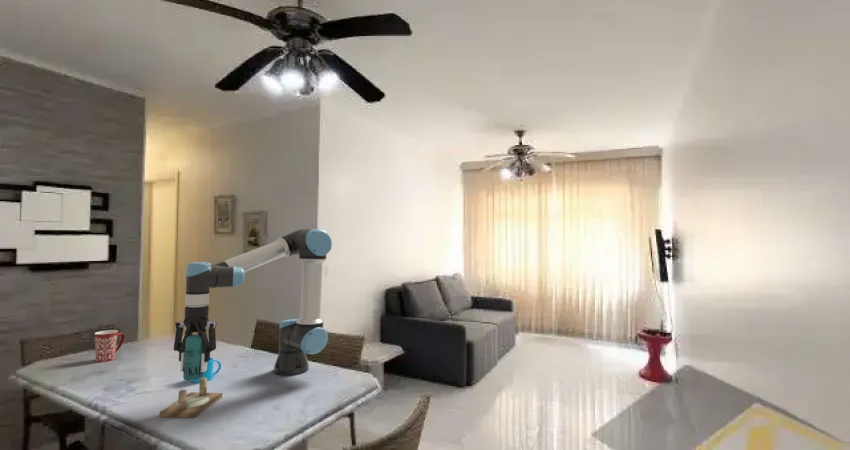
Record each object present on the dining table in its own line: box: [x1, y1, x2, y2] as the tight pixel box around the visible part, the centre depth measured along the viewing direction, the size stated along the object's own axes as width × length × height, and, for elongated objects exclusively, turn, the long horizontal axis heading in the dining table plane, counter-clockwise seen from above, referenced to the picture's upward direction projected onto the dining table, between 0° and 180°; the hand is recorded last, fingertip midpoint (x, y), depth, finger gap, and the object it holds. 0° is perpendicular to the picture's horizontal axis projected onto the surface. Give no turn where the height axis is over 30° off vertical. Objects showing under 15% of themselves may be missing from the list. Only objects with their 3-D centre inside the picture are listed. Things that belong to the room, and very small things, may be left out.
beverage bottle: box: [182, 326, 204, 381], centre depth 146 cm, size 6×7×20 cm
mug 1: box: [94, 329, 126, 363], centre depth 200 cm, size 13×9×14 cm
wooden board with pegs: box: [158, 378, 223, 418], centre depth 145 cm, size 12×18×8 cm, turn 0°
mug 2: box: [190, 357, 222, 384], centre depth 175 cm, size 12×8×8 cm
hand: (193, 370), depth 145 cm, fingers closed on beverage bottle, 6 cm apart
